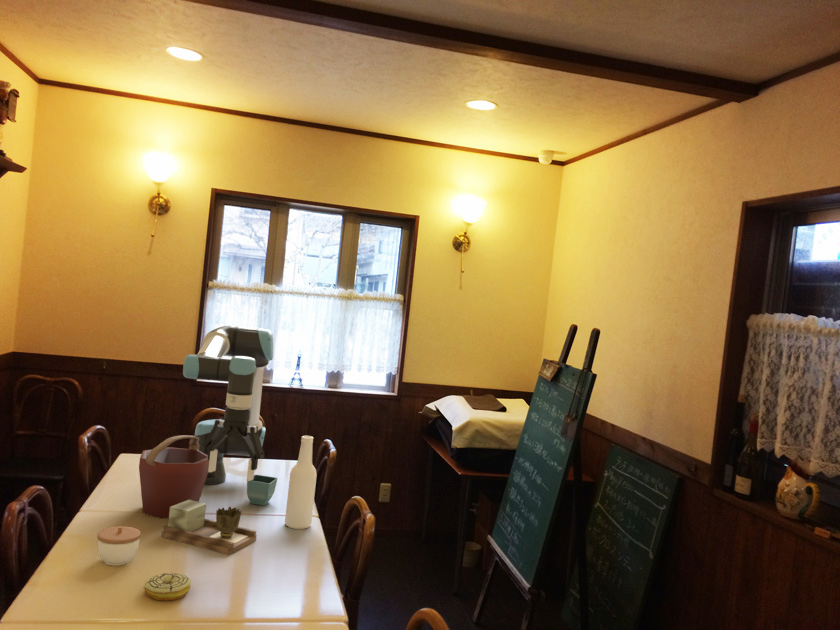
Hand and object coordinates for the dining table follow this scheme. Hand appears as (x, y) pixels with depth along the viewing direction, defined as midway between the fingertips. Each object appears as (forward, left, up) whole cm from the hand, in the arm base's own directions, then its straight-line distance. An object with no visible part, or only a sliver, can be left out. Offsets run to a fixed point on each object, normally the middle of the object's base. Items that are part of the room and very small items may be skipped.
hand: (230, 475), depth 205 cm
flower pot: (-36, -10, -20) cm, 42 cm away
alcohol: (-24, +12, -20) cm, 34 cm away
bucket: (-11, -29, -20) cm, 36 cm away
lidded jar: (+30, -14, -20) cm, 38 cm away
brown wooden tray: (+2, -4, -20) cm, 20 cm away
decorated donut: (+38, +9, -20) cm, 44 cm away
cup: (+2, +2, -18) cm, 18 cm away
